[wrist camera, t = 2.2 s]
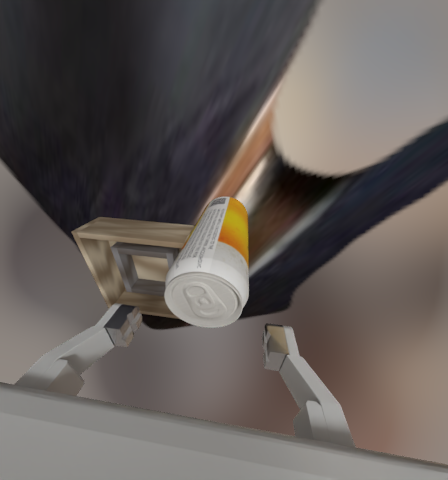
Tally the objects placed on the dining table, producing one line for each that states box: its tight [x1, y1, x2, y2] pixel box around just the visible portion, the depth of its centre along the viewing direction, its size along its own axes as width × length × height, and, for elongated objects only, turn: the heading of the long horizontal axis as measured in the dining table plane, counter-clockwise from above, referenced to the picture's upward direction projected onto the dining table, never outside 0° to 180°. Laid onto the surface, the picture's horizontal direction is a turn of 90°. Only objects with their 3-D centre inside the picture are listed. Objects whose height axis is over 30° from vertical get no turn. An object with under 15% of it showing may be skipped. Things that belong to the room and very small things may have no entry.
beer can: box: [164, 197, 249, 328], centre depth 18 cm, size 6×6×15 cm
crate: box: [72, 217, 195, 319], centre depth 28 cm, size 16×16×5 cm
